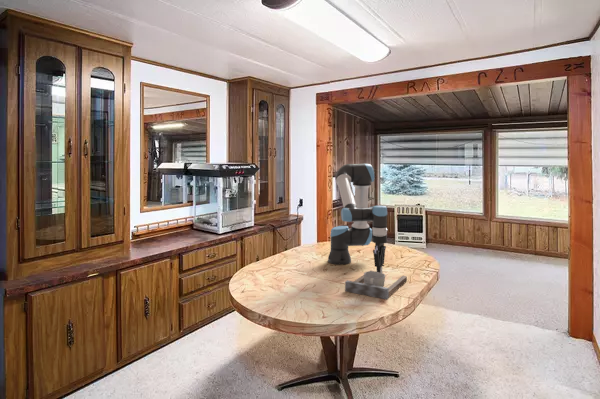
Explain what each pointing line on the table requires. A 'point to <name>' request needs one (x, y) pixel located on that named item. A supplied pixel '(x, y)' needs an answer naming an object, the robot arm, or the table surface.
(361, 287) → the guide track
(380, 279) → the teacup
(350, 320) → the table surface
